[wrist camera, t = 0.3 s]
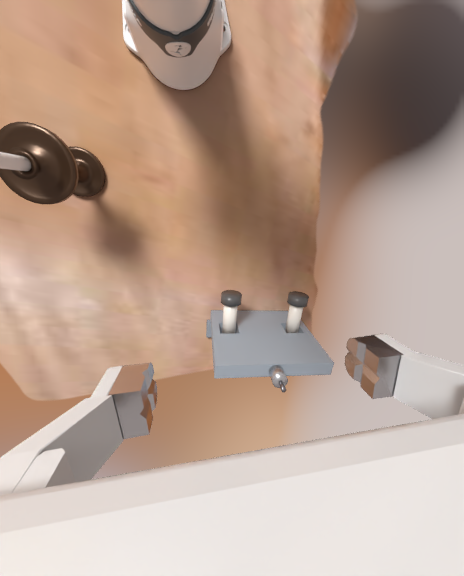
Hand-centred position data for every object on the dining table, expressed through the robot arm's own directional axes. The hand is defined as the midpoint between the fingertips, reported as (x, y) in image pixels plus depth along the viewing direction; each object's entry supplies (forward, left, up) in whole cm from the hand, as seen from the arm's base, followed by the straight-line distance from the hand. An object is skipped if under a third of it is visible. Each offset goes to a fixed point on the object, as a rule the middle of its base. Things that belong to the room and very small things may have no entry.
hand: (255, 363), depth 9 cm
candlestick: (-12, -26, -49) cm, 57 cm away
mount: (+29, +9, -49) cm, 58 cm away
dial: (+27, +9, -27) cm, 39 cm away
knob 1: (+20, +2, -42) cm, 47 cm away
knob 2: (+22, +18, -42) cm, 51 cm away
